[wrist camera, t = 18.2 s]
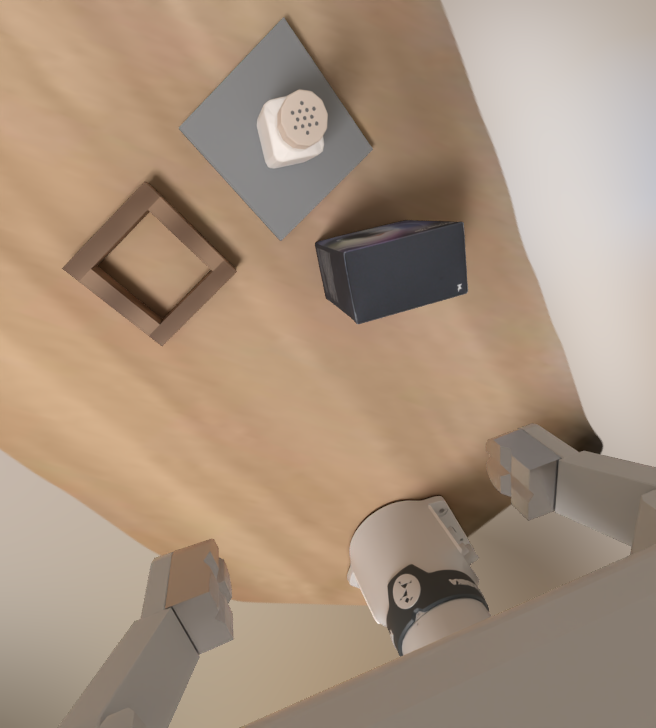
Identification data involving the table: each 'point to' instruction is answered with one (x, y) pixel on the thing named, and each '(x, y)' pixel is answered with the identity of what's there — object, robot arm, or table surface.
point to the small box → (393, 267)
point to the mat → (242, 143)
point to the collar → (120, 298)
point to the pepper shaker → (292, 128)
